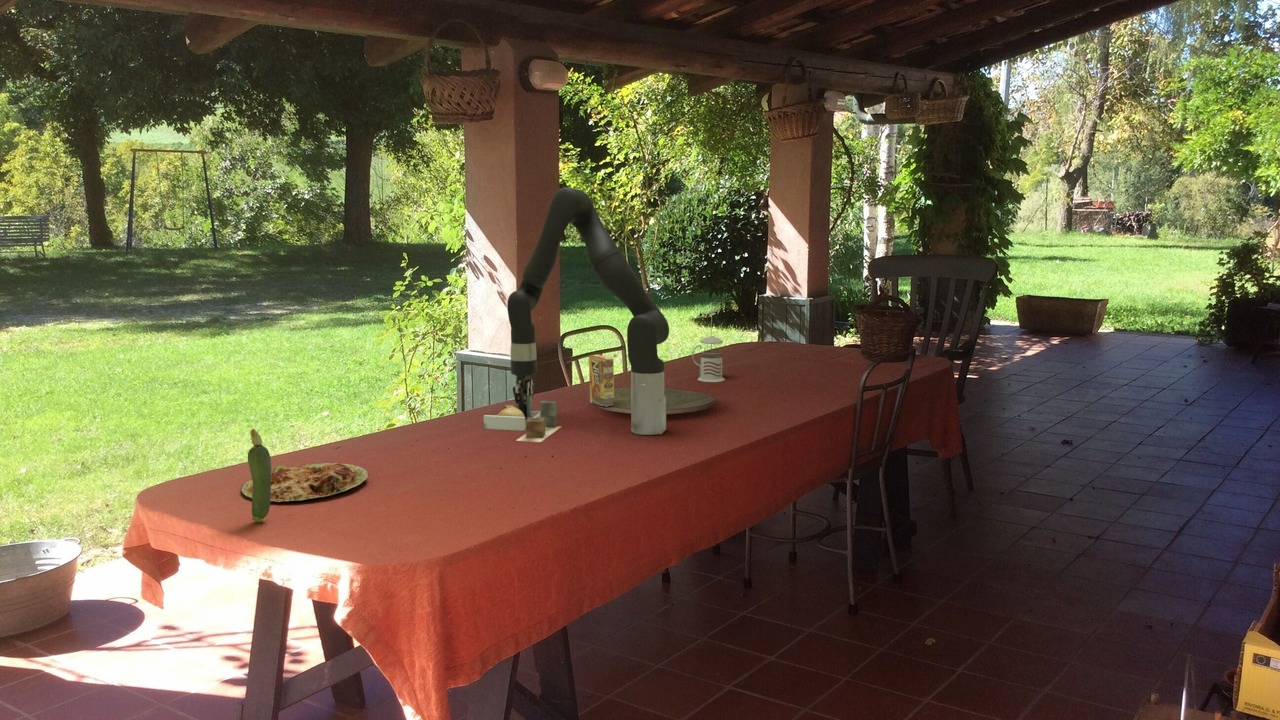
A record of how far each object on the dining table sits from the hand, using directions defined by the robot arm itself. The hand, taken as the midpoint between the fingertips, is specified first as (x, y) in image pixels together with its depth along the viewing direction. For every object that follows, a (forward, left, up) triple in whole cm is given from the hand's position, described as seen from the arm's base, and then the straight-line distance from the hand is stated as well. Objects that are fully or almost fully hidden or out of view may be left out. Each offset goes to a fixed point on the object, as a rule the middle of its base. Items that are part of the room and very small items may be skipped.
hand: (524, 415), depth 300 cm
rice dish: (+27, +75, -2) cm, 79 cm away
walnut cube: (-11, +22, 0) cm, 25 cm away
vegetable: (+22, +99, -1) cm, 102 cm away
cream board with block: (-11, +19, -1) cm, 22 cm away
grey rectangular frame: (0, +8, -1) cm, 8 cm away
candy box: (-16, -26, -1) cm, 30 cm away
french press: (-42, -75, -1) cm, 86 cm away
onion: (0, +12, -1) cm, 12 cm away
